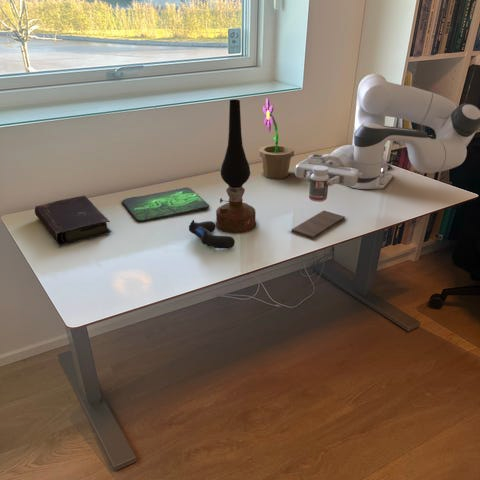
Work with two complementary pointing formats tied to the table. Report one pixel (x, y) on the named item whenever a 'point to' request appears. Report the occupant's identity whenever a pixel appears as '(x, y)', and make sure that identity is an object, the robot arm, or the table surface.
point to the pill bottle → (318, 184)
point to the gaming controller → (210, 235)
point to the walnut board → (318, 224)
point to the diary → (72, 220)
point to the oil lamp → (235, 180)
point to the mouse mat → (164, 204)
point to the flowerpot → (274, 151)
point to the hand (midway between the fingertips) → (318, 181)
